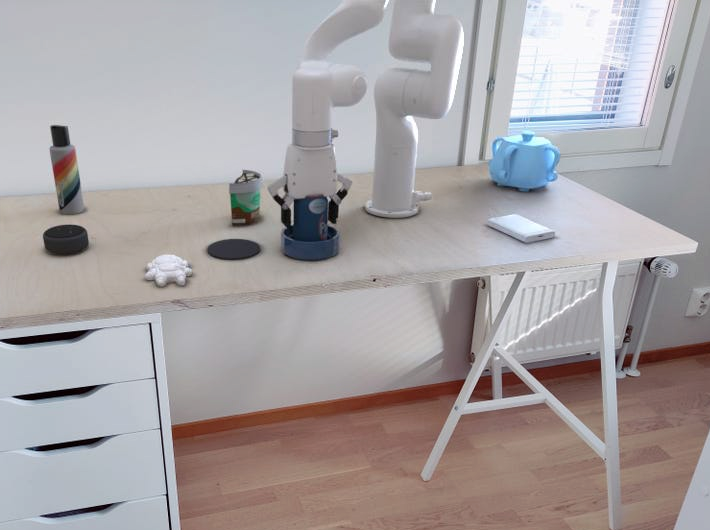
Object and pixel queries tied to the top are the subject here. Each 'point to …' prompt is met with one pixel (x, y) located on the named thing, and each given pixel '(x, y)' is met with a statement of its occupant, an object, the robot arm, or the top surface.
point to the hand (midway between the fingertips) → (309, 224)
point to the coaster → (233, 249)
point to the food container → (245, 198)
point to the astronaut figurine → (168, 270)
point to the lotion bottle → (65, 171)
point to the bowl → (310, 245)
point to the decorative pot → (524, 161)
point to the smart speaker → (65, 239)
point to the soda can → (310, 219)
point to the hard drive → (521, 228)
